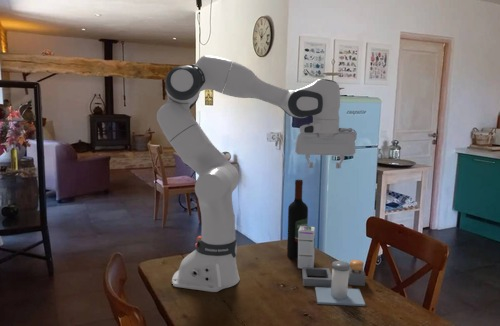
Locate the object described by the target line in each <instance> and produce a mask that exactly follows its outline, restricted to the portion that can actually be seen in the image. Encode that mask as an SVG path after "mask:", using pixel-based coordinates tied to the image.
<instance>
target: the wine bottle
mask: <svg viewBox="0 0 500 326" xmlns="http://www.w3.org/2000/svg"><path fill="white" fill-rule="evenodd" d="M303 183H304V182H303V179H295V180H294V200H293V201H292V202H291V203H290V204H289V205H288V209H287V210H288V211H287V242H286V243H287V245H286V246H287V247H286V249H287V250H286V256H287V257H288V258H289V259H293V260H298V230H299V227H300V226H309V225H308V219H309V207H308V205H307V204H306V203H305V202H304V200H303Z"/></svg>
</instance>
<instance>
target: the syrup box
mask: <svg viewBox="0 0 500 326" xmlns="http://www.w3.org/2000/svg"><path fill="white" fill-rule="evenodd" d="M315 233H316V227H315V226H311V225H307V226H300V227H299V230H298V259H297V268H298V269H301V270H302V267H309V268H315V267H314V266H315V252H316V251H315V247H316V246H315V245H316V241H315V239H316V238H315V237H316V234H315Z"/></svg>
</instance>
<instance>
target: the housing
mask: <svg viewBox="0 0 500 326" xmlns="http://www.w3.org/2000/svg"><path fill="white" fill-rule="evenodd" d="M330 269H331V268H329V267H328V268H326V267H314V268H309V267H302V269H301V278H302V286H303V287H305V286H306V287H324V288H331V282H332V271H331V270H330ZM308 276H309V277H308ZM365 283H366V272H365V269H363V270H360V271H359V272H354V270H352V269H350V270H349V278H348V286H363V287H364V286H365V285H366V284H365Z"/></svg>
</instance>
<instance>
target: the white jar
mask: <svg viewBox="0 0 500 326" xmlns="http://www.w3.org/2000/svg"><path fill="white" fill-rule="evenodd" d="M331 267H332V270H331V274H332V282H331V287H330V288H331V296H332V297H334V298H337V299H345V298H346V297H347V291H348V289H349V284H348V278H349V270H350V262H349V263H348V262H347V261H342V260H335V261H332V263H331Z"/></svg>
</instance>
